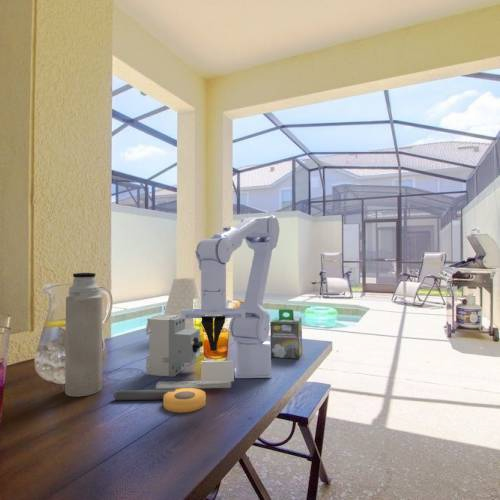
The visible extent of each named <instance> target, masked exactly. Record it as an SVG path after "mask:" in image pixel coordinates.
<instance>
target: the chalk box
mask: <svg viewBox="0 0 500 500" xmlns="http://www.w3.org/2000/svg"><path fill="white" fill-rule="evenodd" d="M285 313H286V314H289V315H288V316H285V315H284V314H285ZM269 326H270V329H269V335H270V347H271V358H279V359H281V358H282V359H294V360H299V359H300V358H301V355H302V353H303V327H302V317H299V316H298V317H295V316H294V309H283V308H281V309H278V316H276V317H274V318H273V319H272V320H271V321H269Z"/></svg>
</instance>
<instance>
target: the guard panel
mask: <svg viewBox="0 0 500 500" xmlns="http://www.w3.org/2000/svg"><path fill="white" fill-rule="evenodd" d="M200 381H201V382H216V381H231V382H235V361H234V360H201V362H200Z"/></svg>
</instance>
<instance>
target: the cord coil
mask: <svg viewBox="0 0 500 500" xmlns="http://www.w3.org/2000/svg"><path fill="white" fill-rule="evenodd" d="M175 390H176V391H174V392H168V393H166V394H165V395H164V397H163V399H162V400H163V401H162V402H163V408H164V409H165V410H167V411H168V412H171V413H178V414H179V413H191V412H195V411H198V410H200V409H203V407H205V406H206V404H207V401H206V400H207V395H206V392H205V391H204V390H202V389H201V388H182V389H175Z"/></svg>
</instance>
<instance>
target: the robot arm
mask: <svg viewBox="0 0 500 500" xmlns="http://www.w3.org/2000/svg"><path fill="white" fill-rule="evenodd" d="M280 231H281V230H280V223H279V219H278V218H277V217H276V216H275V215H269V216H266V215H265V216H253V217H249V216H246V217H245V216H244V218H241V221H240V223H239V224H237V225H236V226H235V227H231V226H230V225H229V226H226V225H225V226H224V227H223V228H222V230H221V231H220V232H218V233H217V232H215V233H214V234H213V235H212V237H210V238H204V239H201V241H198V243H197V246H196V250H195V257H196V259H197V262H198V269H199V271H200V294H201V309H182V311H181V319H186V318H202V321H201V323H202V325H203V327H204V328H203V330H204V331H205V334H206V337H207V339H208V344H209V349H210V352H216V351H218V342H219V337H220V335H221V332H222V330H223V328H224V325H225V323H226V319H230V321H229V324H228V326H229V327H228V328H229V333H230V334H229V335H230V336H231V337H232V338H233V341H234V342H235V348H236V349H235V364H236V365H235V367H234V379H266V378H267V379H270V378H272V359H271V358H272V357H271V340H266V339H267V338H268V336H269V335H270V320H271V317H270V314H269V312H268V311H267V310H266V309H265V308H264V307H263V303H264V296H265V291H266V287H267V283H268V282H267V280H268V275H269V271H270V266H271V259H272V253H273V250H274V249H275V248H277V247H278V242H279V235H280ZM243 240H245V242H246V245H247V247H248V248H250V249H251V250H253V258H252V261H251V268H250V271H249V276H248V281H247V286H246V292H245V297H244V301H243V303H242V304H241V305H239V306H238V307H236V308H232V307H231V308H229V307H228V308H227V282H226V281H227V263H229V262H230V260H231V256H232V255H233V253H234V252H235V251H236V250H237V249H239V248H240V247H241V246H242V245H243ZM205 315H206V316H205Z"/></svg>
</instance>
